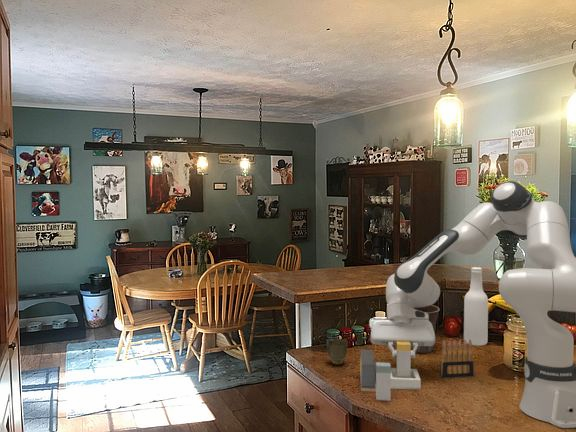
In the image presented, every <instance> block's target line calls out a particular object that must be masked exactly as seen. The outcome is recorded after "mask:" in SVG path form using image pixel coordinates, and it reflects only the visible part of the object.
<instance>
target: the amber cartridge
mask: <svg viewBox="0 0 576 432" xmlns="http://www.w3.org/2000/svg"><path fill="white" fill-rule="evenodd" d="M396 350H397V357H396V366H395V368H396V373H397V376H409V377H411V369H412V368H411V364H412V363H411V362H412V361H411V359H412V358H411V344H410V342H399V341H397V345H396Z"/></svg>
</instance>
